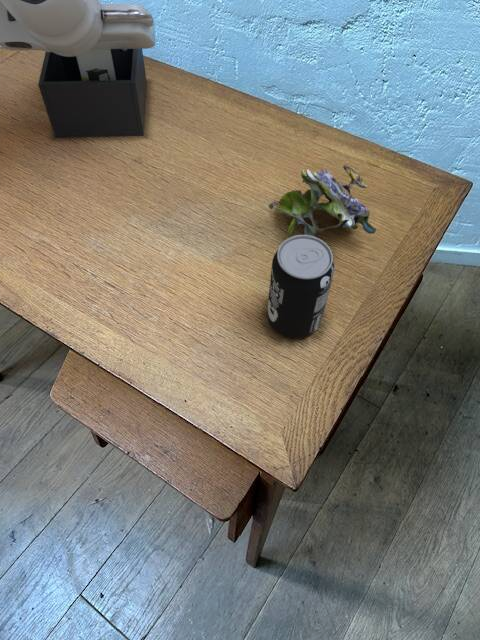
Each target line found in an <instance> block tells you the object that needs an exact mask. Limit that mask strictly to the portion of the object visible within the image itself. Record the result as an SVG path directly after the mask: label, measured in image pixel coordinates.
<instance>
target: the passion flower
mask: <svg viewBox="0 0 480 640" xmlns="http://www.w3.org/2000/svg"><path fill="white" fill-rule="evenodd" d="M342 169H343V170H344V171H345V172H346V173H347V175H348V176H349V178H350V179H351V180H350V181H349V184H343V182H339V181H337V179H336V178H335V177H334V176H333V175H332V174H331V173H329V172H328V170H327V169H322V168H320V170H321V171H314V172H313V173H312V172H311V170H310V169H308V168H307V169H306V173H305V170H304V169H301V170H300V175H301V178H302V181H301V183H305V184H306V185H308V186H309V189H306V191H305V192H303V193H302V190H300V189H295V190H291V191H287V192H286V193H285V194H283V195H282V197H281V198H280V199H279V200H273V201H272V202H271V203H269V204H268V208H269V209H270V210H273V209H274V208H275V209H276V210H278V211H279V212H280V213H281V214H284V215H286V216H289V217H291V218H293V219H292V220H291V222H290V224H289V226H288V228H287V233H286V237H287V239H288V238H290V237H292V234H293V231H294V230H295V229H296V227H297V226H299V225H300V224H301V225H304V229H303V235H310V236H314V237H315V236H318V235H319V234H320V233H321V232H324V231H327V230H331V229H337V228H341V227H342V228H343V229H346V228H348V229H352V230H357V229H358V227H359V226H358V224H360V225H361V226H362V228H363V231H364V232H366V233H367V234H371V235H372V234H373V235H374V234H375V233H376V232H377V228H376V227H374V226H373V225H372V224H371V223H370V222H369V219H370V213H371V212H370V210H368V209H366V206H365V205H364V204H362V203H360V201H359V200H358V199H357V197H353V195H352V194H351V189H352V187H353V186H354V185H357V186H358V187H359V188H361V189H367V188H368V185H366V184H365V183H364V182H363V178H362V177H361V176H360V174H359V173H358V172H355V170H354V169H353V168H352V167H350V166H348V165H346V164H344V165H343V166H342ZM322 196H324V197H325V199H327V200H328V201H327V202H319V201H320V199H321V198H322ZM317 210H319V211H322V212H321V215H320V216H319V217H318V218H317V219H314V216H313V214H314V211H317ZM325 213H327V214H328V215H330V216H331V217H332V218H336V219H337V220H338V224H335V225H329V226H328V227H327V226H326V227H323V228H319V227H318V224H319V222H320V220H321V219H322V217H323V215H324V214H325ZM305 218H308V219H309V220H310V221H311V224H312V225H311V224H309V223H307V222H306V221H305V220H304V219H305Z"/></svg>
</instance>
